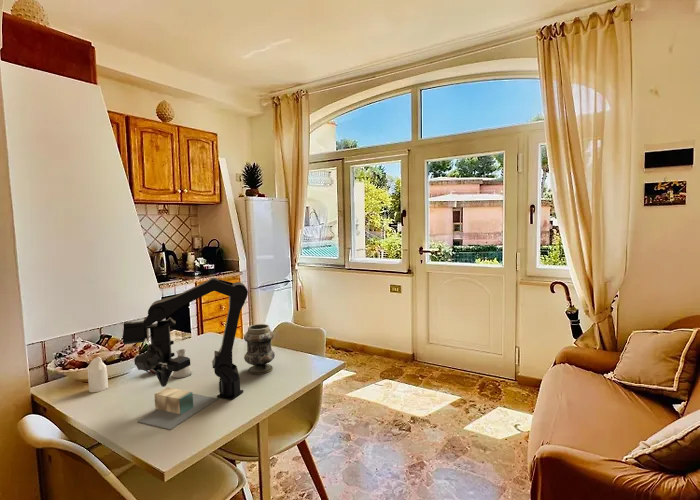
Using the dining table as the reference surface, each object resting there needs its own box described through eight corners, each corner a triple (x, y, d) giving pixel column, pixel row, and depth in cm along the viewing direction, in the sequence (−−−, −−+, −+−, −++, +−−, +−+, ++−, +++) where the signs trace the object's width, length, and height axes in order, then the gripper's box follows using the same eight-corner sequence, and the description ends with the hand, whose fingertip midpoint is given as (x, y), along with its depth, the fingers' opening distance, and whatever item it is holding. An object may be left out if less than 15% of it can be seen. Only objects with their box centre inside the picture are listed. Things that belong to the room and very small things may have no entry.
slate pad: (218, 399, 128) (217, 398, 128) (170, 430, 110) (170, 429, 110) (187, 393, 133) (187, 392, 133) (137, 421, 115) (137, 421, 115)
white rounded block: (83, 361, 134) (89, 355, 139) (86, 393, 135) (92, 387, 140) (103, 358, 136) (107, 353, 141) (105, 390, 137) (110, 384, 142)
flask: (185, 379, 146) (183, 353, 145) (168, 377, 147) (166, 353, 146) (196, 371, 153) (194, 347, 152) (180, 370, 154) (178, 346, 153)
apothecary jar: (279, 364, 158) (277, 322, 157) (270, 376, 146) (268, 330, 145) (251, 363, 159) (249, 322, 158) (240, 375, 147) (237, 330, 146)
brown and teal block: (168, 401, 127) (193, 406, 123) (155, 408, 122) (181, 414, 118) (167, 387, 126) (192, 392, 122) (154, 393, 122) (180, 399, 118)
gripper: (117, 344, 118) (121, 392, 119) (161, 351, 111) (165, 402, 112) (147, 334, 128) (151, 378, 130) (190, 339, 121) (193, 386, 123)
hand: (163, 386), depth 123 cm, fingers closed
